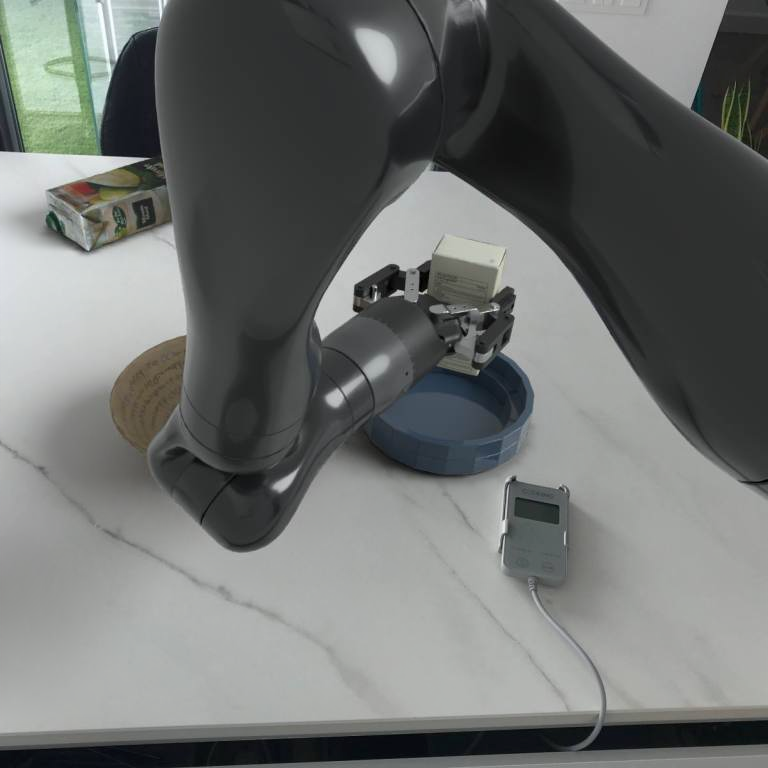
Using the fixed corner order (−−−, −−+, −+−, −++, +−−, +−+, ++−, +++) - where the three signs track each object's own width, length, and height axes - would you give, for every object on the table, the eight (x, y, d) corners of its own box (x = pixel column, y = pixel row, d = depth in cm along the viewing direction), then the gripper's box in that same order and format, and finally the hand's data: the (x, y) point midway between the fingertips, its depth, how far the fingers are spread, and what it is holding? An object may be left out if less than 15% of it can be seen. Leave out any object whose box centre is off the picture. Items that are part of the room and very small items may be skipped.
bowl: (101, 523, 68) (86, 458, 63) (138, 387, 82) (128, 326, 77) (314, 522, 70) (316, 459, 64) (314, 390, 84) (315, 330, 79)
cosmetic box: (486, 354, 78) (512, 247, 70) (476, 378, 75) (503, 269, 67) (425, 337, 79) (444, 229, 71) (413, 360, 76) (432, 250, 68)
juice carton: (82, 256, 101) (74, 212, 97) (42, 228, 106) (33, 186, 102) (207, 211, 113) (204, 171, 109) (166, 188, 118) (161, 149, 114)
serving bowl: (559, 429, 82) (569, 396, 79) (442, 506, 72) (448, 473, 69) (442, 347, 91) (447, 316, 89) (324, 406, 82) (326, 373, 79)
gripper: (454, 359, 57) (551, 273, 68) (303, 288, 63) (415, 219, 74) (441, 434, 62) (534, 342, 73) (302, 361, 67) (407, 286, 78)
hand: (474, 280), depth 73 cm, fingers closed on cosmetic box, 7 cm apart
